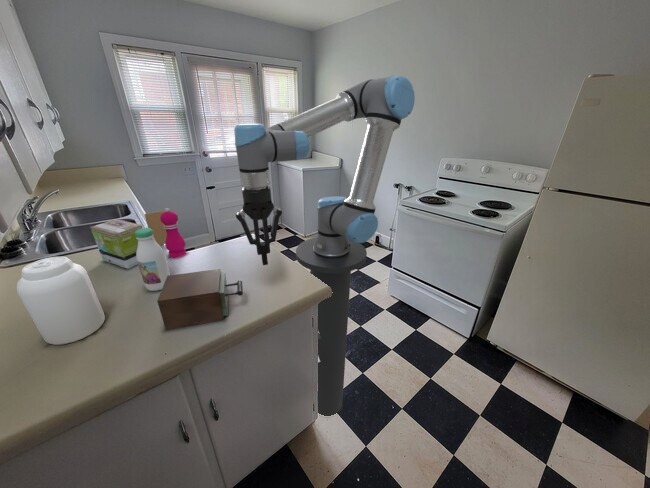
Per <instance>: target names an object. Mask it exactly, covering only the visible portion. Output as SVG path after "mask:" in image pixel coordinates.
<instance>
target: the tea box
mask: <svg viewBox="0 0 650 488" xmlns="http://www.w3.org/2000/svg"><path fill="white" fill-rule="evenodd" d="M89 228H90V232H91V234H92V236H93V239H94V241H95V244H96V247H97V248H98V251H99V254H100V256H101V257H100V258H101V259H102V261H104V262H106V263H110V264H113V265H116V266H118V267H122V268H124V269H127V270H129V269H131V268H134V267H135V266H139V265H138V261H137V257H136V252H137V247H138V239H136V236H135V231H137V230H139V229H143V225H142V224H139V223H135V222H131V221H127V220H123V219H119V218H114V219H112V220H109V221H105V222H103V223H99V224H96V225H92V226H90V227H89Z"/></svg>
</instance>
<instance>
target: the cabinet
mask: <svg viewBox="0 0 650 488" xmlns="http://www.w3.org/2000/svg"><path fill="white" fill-rule="evenodd" d="M221 272H222V270H221V268H215V269H209V270H208V269H207V270H201V271H194V272H186V273H185V272H184V273H177V274H170V275H169V276H167V278H166V281H165V283H164V286H163V288H162V290H160V293H159V296H158V297H157V300H156V301H157V305H158V309H159V312H160V315H161V318H162V322H163V325H164V328H165V331H169V330H175V329H181V328H186V327H192V326H197V325H202V324H208V323H214V322H220V321H225V319H224V318H225V316H223V312H222V306H221V301H220V295H219V289H220V277H221Z"/></svg>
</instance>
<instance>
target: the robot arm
mask: <svg viewBox="0 0 650 488" xmlns="http://www.w3.org/2000/svg"><path fill="white" fill-rule="evenodd" d="M415 100H416V98H415V91H414V87H413V84H412V82H411V81H410V80H409V79H408V78H407V77H406V76H403V75H391V76H387V77H382V78H381V77H380V78H371V79H367V80H363V81H361V82H359V83H358V84H355V85H353V86H352V87H350V88H347V89H345V90H343V91H341V92H339V93H338V94H337V96H336V97H335V98H333V99H331V100H328V101H326V102H324V103H322V104H319V105H317V106H315V107H312V108H310V109H308V110H306V111H304V112H301V113H299V114H296V115H294V116H292V117H289V118H287V119H285V120H283V121H281V122H277V124H273V125H271V126H269V127H266V128H265V125H264V124H262V123H239V124H236V125H235V126H234V128H233V131H234V133H233V135H234V146H235V151H236V157H237V158H236V159H237V163H238V170H239V179H240V186H241V193H242V200H243V205H242V209H240V211H236V212H235V218H236V220H237V221H238V222H239V223H240V224H241V226H242V229H243V231H244V234H245V235H246V238H247V240H248V243H249V245H250V246H251V245H252V246H256V253H257V256H261V263H262V266H268V265H269V260H268V254H271V243H274V242H276V239H277V233H278V229H279V222H280V221H279V220H280V218H281V216H282V214H283V210H282V208H281V207H276V206H275V205H274V203H273V199H272V189H271V187H270V185H271V182H270V181H271V180H270V168H269V163H276V162H288V161H298V160H303V159H305V158H307V157H308V155H309V153H310V141H309V138H311V137H313V136H315V135H317V134H319V133H321V132H323V131H325V130H327V129H329V128H332V127H334V126H336V125H338V124H340V123H342V122H344V121H345V122H347V123H349V122H352V121H354V120H357V119H364V120H365V123H366V125H367V126H366V127H367V128H366V131H365V136H364V139H363V143H362V147H361V151H360V154H359V158H358V162H357V166H356V169H355V174H354V177H353V181H352V185H351V189H350V193H349V196H348V197H346V196H338V195H337V196H336V195H335V196H325V197H321V198H320V199H319V200H318V201H317V207H316V209H317V235H316V237H315V238H316V240H315V243H314V246H313V251H314V253H315V254H316V255H318V256H320V257H324V258H340V257H344V256H346V255H347V254H348V253H349V246H350V244H348V240H350V241H353V242H355V243H360V244H364V243H366V242H368V241H369V240H370V239H372V237H373V236H374V235H375V234H376V232H377V230H378V227H379V220H378V217H377V216H376V214H375V212H376V210H377V209H376V208H377V207H376V206H375V204H374V200H375V197H376V193H377V189H378V186H379V183H380V179H381V177H382V173H383V168H384V165H385V162H386V158H387V155H388V152H389V148H390V144H391V141H392V137H393V135H394V132H395V131H397V130H398V129H399V128H400V127H401V124H402V120H404V119H406V118H407V117H409V115H411V113H412V111H413V109H414V106H415V102H416V101H415ZM271 214H273V217H272V222H271V223H272V224H271V229H270V233H269V224H268V218H269V217H270V216H271ZM246 215H247V216H248V217H249V219H251V220H252V223H253V224H252V225H253V230H254V237H253V235H252V233H251V232H252V231H251V230H250V228H249V225H248V222H247V221H246V220H247V219H246ZM260 220H261V221H262V229H263V230H262V232H263V239H264V241H261V235H260V228H259V226H260V225H259V221H260ZM269 234H270V235H269ZM347 239H348V240H347Z"/></svg>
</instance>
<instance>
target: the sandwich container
mask: <svg viewBox="0 0 650 488" xmlns="http://www.w3.org/2000/svg"><path fill="white" fill-rule="evenodd" d="M164 212H165V210H157V211H152V212H147V213H144V218H145V221H146V225H147V228H150V229H152V231H153V235H154V236H153V238H154V239H155V241H156V242H157V243H158V244H159V245H160V246H161V245H165V242H166V237H167V232H166V229H165V228H164V226H163V225H164V224H163V223H162V222H161V220H160V216H161V214H162V213H164Z"/></svg>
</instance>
